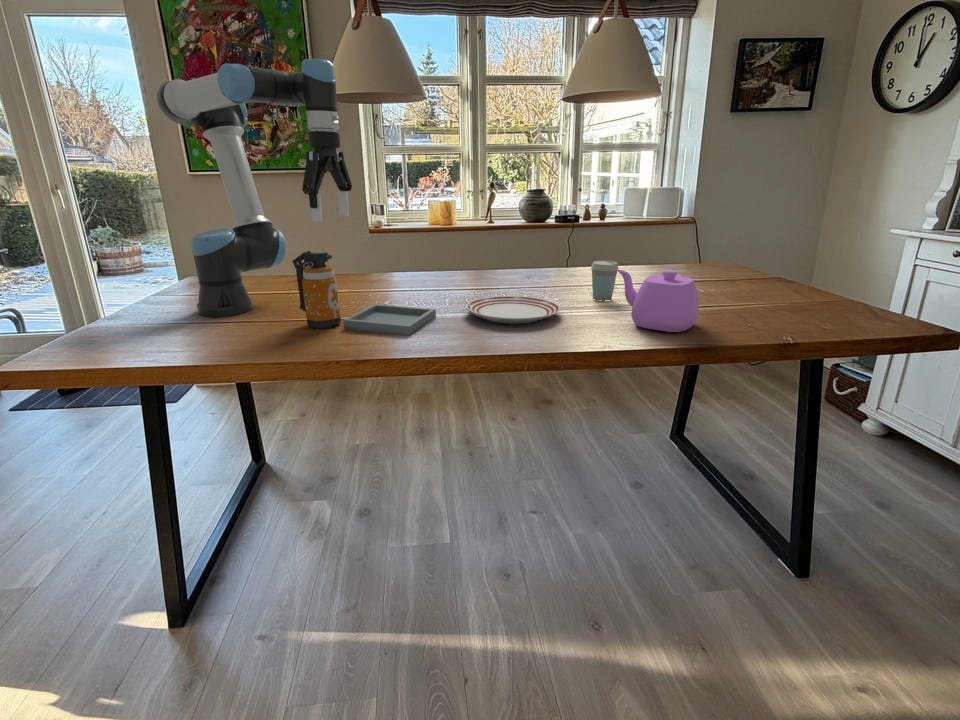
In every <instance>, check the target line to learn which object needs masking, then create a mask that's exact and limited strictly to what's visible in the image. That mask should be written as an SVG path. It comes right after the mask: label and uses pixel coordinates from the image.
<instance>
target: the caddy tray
mask: <svg viewBox="0 0 960 720" xmlns="http://www.w3.org/2000/svg"><path fill="white" fill-rule="evenodd" d="M436 311H437V310H436V308H425V307H415V306H414V307H413V306H405V305H403V306H401V305H393V304H391V305H389V304H379V303H375V304H372V305H370V306H368V307H366V308H364V309H363V310H360V311H358V312H356V313H353V314H352V315H350V316H348V317H346V318H344V319H342V322H343V323H342V324H343V329H344V330H350V331H351V330H353V331H359V330H360V332H362V331H363V332H370V333H380V334H390V335H400V336H412V335H413V334H414V333H416V332H418V331H419V330H420V329H422V328H423V327H425V326H426V325H427V324H429V323H430V322H432V321H434V320H435V319H436V318H437V313H436ZM434 318H435V319H434Z"/></svg>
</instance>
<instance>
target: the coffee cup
mask: <svg viewBox="0 0 960 720" xmlns="http://www.w3.org/2000/svg"><path fill="white" fill-rule="evenodd" d="M618 265H619V264H618V262H617V261H612V260H594V261H593V262H592V264H591V267H590V269H591V281H592V282H591V283H592V300H593V299H595V300H602V301H605V300H611V301H612V299H613V294H614V289H615V284H616V278H617V275H618V271H617V270H616V269H618V270H619V266H618ZM595 300H594V301H595Z"/></svg>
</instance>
